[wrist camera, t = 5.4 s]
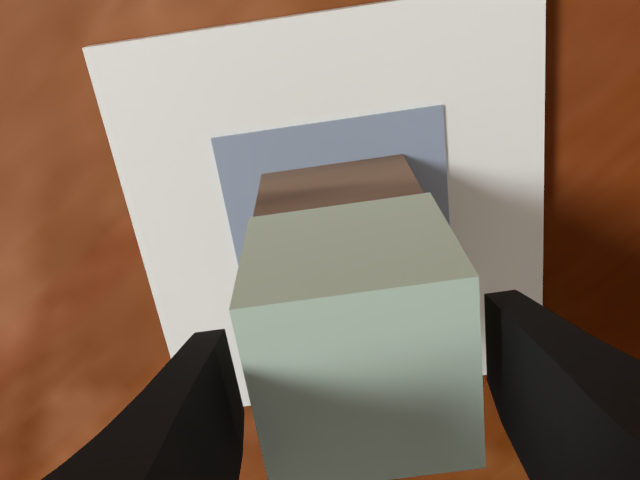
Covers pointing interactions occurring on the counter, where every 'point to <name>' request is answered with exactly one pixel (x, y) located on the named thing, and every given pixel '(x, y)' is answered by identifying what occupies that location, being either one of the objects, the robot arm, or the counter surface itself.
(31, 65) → the counter surface
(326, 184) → the walnut block
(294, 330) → the green block
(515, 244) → the white square board
